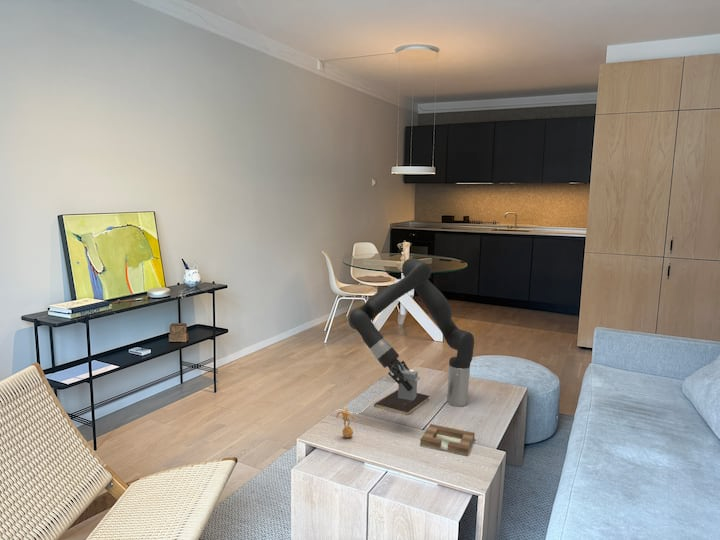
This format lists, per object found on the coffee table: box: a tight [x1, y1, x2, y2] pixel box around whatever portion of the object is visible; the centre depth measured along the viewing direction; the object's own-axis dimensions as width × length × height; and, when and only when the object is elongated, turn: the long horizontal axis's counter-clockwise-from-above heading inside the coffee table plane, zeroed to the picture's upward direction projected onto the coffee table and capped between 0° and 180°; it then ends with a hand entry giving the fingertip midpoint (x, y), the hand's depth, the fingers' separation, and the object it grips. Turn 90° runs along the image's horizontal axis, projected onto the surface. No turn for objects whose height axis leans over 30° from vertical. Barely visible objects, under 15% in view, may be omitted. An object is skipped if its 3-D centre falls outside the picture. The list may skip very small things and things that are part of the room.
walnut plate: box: [419, 423, 476, 457], centre depth 190 cm, size 15×17×3 cm
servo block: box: [397, 368, 421, 401], centre depth 196 cm, size 4×8×11 cm, turn 68°
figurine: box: [336, 407, 357, 438], centre depth 189 cm, size 8×6×12 cm
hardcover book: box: [373, 389, 430, 416], centre depth 227 cm, size 16×23×2 cm
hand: (412, 387), depth 195 cm, fingers closed on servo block, 4 cm apart
